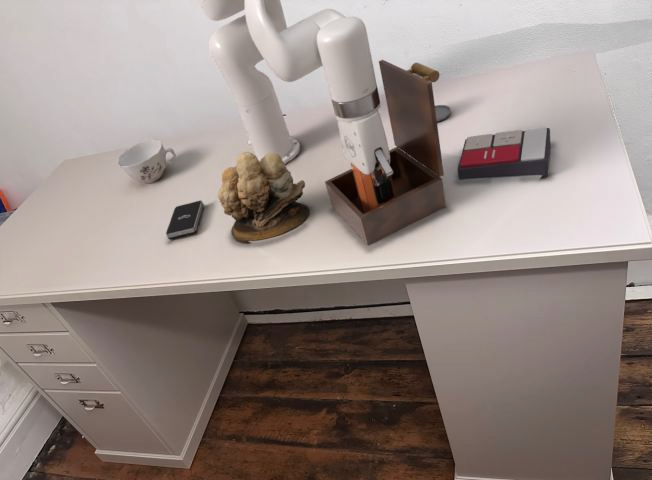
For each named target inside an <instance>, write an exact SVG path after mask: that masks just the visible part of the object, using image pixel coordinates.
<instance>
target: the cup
mask: <svg viewBox="0 0 652 480" xmlns="http://www.w3.org/2000/svg"><path fill="white" fill-rule="evenodd" d="M378 166H379V165H378V163H376V164H375V167H378ZM350 167H351V168H350V169H352V172H353V176H354V180H355V184H356V188H357V192H358V196H359V199H360V203H361V207H362V210H363V212H364V213H367V212H369V211H371V210H373V209H375V208H377V207H379V206H381V205H383V204H385V203H387V202H389V201H391V200H393V199H395V198H396V196H395V191H394V186H393V181H392V180H391V184H392V189H393V194H394V197H393V198H392V199H390V200H388V201H386V202H384V203H381V204H378V203H377V201H376V196H375V192H374V187H373V185H375V183H374V180H373V178H372V175H371V173H370V174H369V175H366V174H364V173H362V172H361V171H360V170H359V169H358V168H356V167H355V166H354V165H353V164H352V163H351V162H350ZM376 174H377V177H378V178H379V176H380V175H382V170H381V169H380V170H378V171H376ZM391 179H392V178H391Z"/></svg>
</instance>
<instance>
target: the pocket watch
mask: <svg viewBox="0 0 652 480" xmlns="http://www.w3.org/2000/svg"><path fill="white" fill-rule="evenodd" d="M435 111H436V119H437V122H440V121H443V120H445V119H447V118H448V117H449V116H450V114H451V112H452V111H451V107H449V106H448V105H446V104H445V105H444V104H438V105H436V104H435Z"/></svg>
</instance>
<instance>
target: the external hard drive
mask: <svg viewBox="0 0 652 480" xmlns="http://www.w3.org/2000/svg"><path fill="white" fill-rule="evenodd" d="M204 208H205V204H204V202H203V201H202V200H201V199H199V200H196V201H192V202H188V203H184V204H180V205H176V206H175V207H174V208H173V210H172V211H173V212H172V214H171V217H170V220H169V223H168V225H167V229H166V231H165V235H166V237H167V239H168V240H170V241H172V240H176V239H182V238H185V237H190V236H194V235H197V233H198V230H199V227H200V223H201V220H202V216H203V212H204Z"/></svg>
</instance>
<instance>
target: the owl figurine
mask: <svg viewBox="0 0 652 480" xmlns="http://www.w3.org/2000/svg"><path fill="white" fill-rule="evenodd" d="M235 164H236V166H230V167H228V168H225V170H224V171H223V172H222V174H221V185H220V188H219V190H218V192H217V197H218V201H219V203H220V204H221V206H222V208H223V213H224V215H228V216H231V218H233V219H234V223H233V226H232V227H231V235H232V238H233V239H234V240H235V241H236V242H237V243H239V244H240V243H241V244H245V245H247V244H248V245H249V244H253V243H252V242H258V241H264V240H269V239H273V238H277V237H279V236H282V235H284V234H288V233H289V232H291V231H293V230H295V229H297V228H298V227H300V226H301V225H302V224H304V223H305V222H306V220H307V219H308V217H309V216H310V209H309V207H308V206H307V205H306V204H304V203H302V202H299V201H298V200H300V199H301V198H302V197H303V195H304V189H305V187H306V182H305V180H303V179H301V180H300V181H297V183H294V178H293V176H292V173H291V171H290V170H289V169H288V168H287V166H286V164H284V162H283V161H282V158H281V157H280V156H279V154H277V153H268V154H266V155H265V156H264V157H263V158H262V159H261V160H260V162H259V160H258V158H257V157H256V156H255V154H253V153H252V152H250V151H245V152H244V151H243V152H242V153H241V154H240V155H239V156H238V157H237V158H236V162H235Z"/></svg>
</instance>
